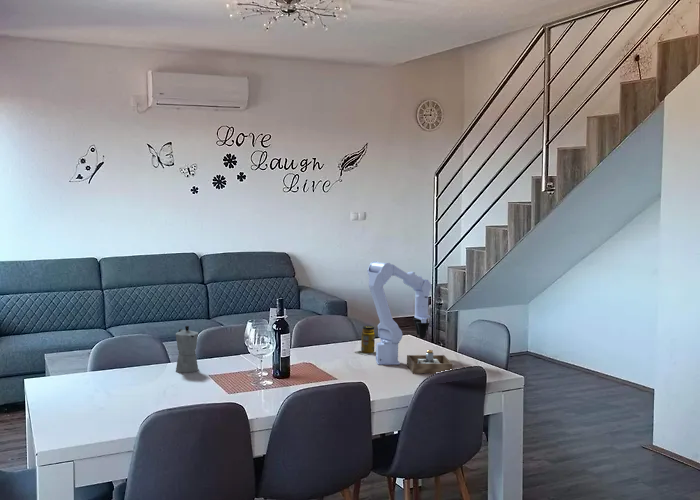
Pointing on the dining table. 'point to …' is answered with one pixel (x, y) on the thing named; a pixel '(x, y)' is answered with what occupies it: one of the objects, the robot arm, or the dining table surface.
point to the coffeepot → (186, 351)
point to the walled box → (428, 364)
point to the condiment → (367, 341)
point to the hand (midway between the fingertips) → (420, 336)
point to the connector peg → (429, 356)
